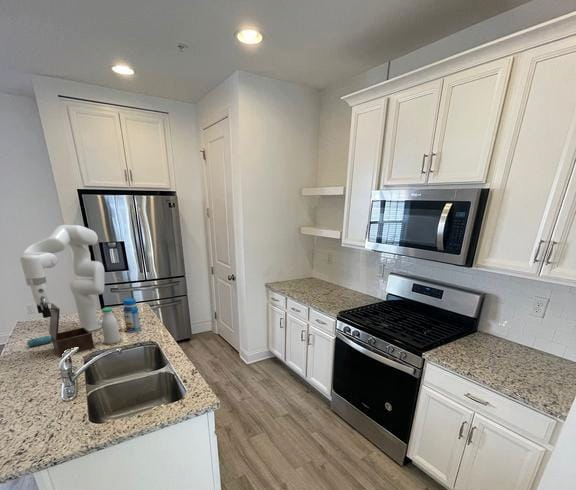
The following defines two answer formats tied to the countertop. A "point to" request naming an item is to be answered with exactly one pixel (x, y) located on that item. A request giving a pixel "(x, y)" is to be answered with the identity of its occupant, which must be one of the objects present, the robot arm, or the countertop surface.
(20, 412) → the countertop surface
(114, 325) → the milk bottle
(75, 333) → the bin
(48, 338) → the teal cylinder
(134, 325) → the beverage bottle
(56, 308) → the bin lid
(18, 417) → the countertop surface
